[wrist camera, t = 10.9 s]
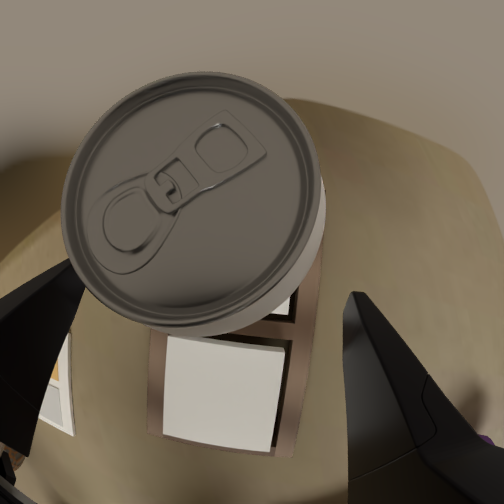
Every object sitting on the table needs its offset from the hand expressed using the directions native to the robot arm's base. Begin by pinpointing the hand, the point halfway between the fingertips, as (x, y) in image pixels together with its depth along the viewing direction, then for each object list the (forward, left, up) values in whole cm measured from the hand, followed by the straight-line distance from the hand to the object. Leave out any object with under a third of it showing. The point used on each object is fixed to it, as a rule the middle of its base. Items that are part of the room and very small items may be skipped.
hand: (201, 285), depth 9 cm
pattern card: (+11, +16, -10) cm, 22 cm away
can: (+1, -2, -8) cm, 9 cm away
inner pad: (-2, +6, -8) cm, 11 cm away
